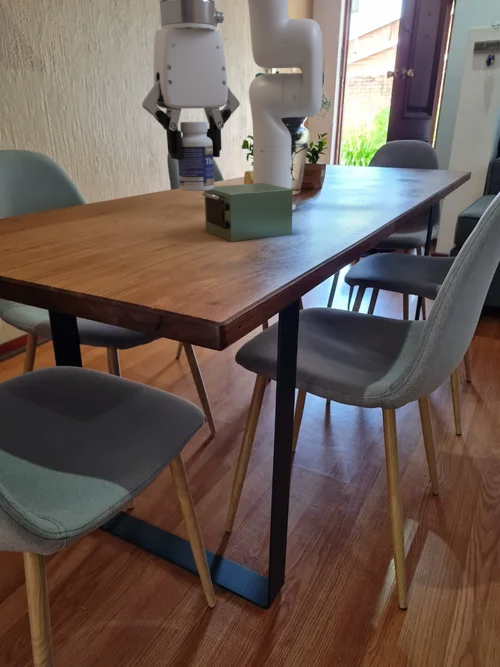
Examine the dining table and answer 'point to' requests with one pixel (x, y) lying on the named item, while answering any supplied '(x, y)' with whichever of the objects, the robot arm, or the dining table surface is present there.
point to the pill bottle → (196, 158)
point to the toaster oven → (248, 211)
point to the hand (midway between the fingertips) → (195, 156)
